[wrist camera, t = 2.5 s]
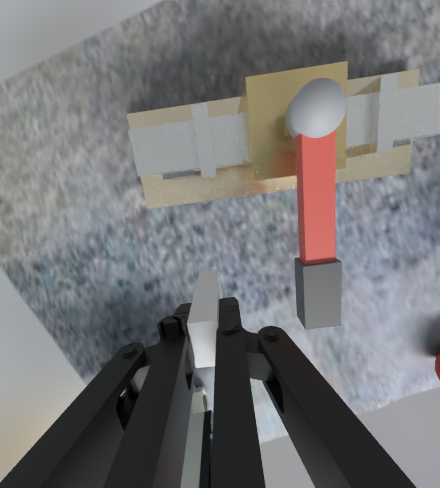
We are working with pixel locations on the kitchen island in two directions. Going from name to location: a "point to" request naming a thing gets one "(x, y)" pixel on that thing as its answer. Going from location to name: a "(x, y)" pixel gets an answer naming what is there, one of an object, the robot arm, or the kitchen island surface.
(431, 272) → the kitchen island surface
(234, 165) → the valve pipe
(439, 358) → the onion
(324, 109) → the lever
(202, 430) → the ball valve
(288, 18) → the kitchen island surface
